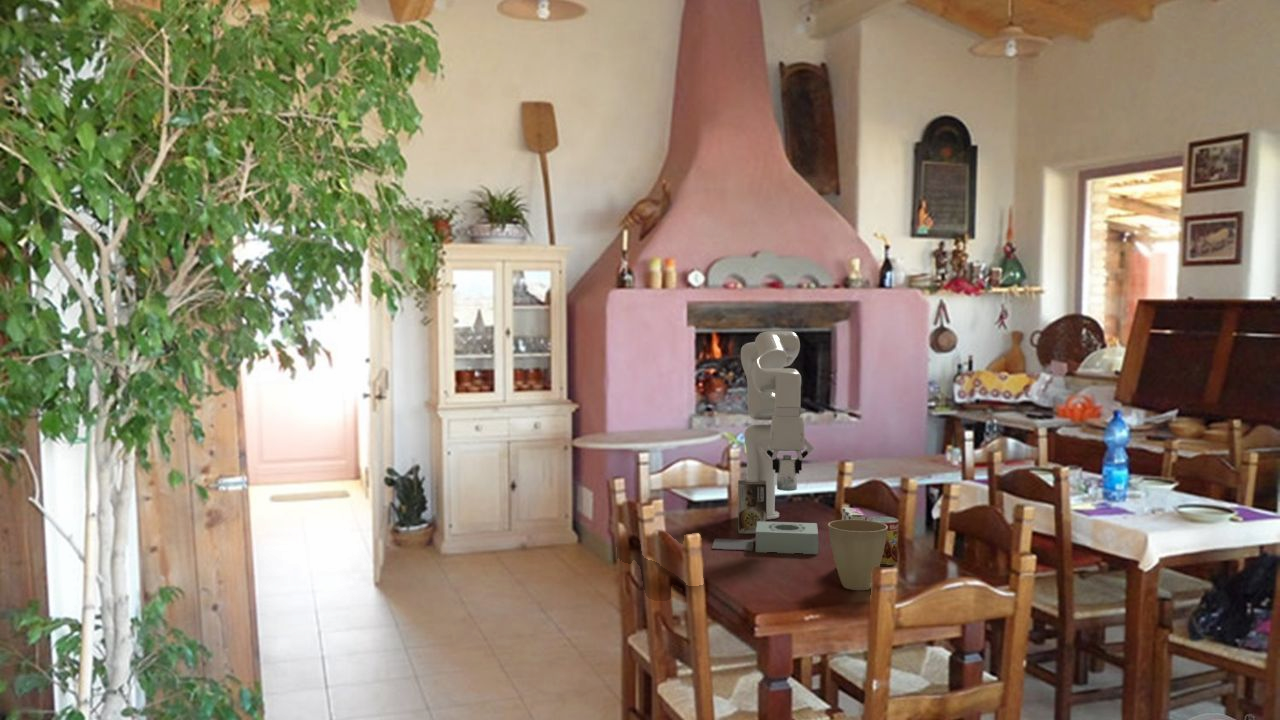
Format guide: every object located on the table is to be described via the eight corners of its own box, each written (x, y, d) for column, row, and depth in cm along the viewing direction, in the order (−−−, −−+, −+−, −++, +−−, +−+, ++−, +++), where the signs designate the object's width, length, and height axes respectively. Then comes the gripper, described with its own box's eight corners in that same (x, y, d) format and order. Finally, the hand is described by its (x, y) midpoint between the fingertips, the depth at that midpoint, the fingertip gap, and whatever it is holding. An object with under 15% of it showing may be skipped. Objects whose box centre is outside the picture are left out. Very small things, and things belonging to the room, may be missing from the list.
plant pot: (899, 588, 243) (900, 526, 242) (859, 598, 234) (860, 534, 233) (854, 575, 255) (855, 516, 254) (815, 584, 246) (815, 523, 246)
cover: (777, 486, 288) (777, 453, 287) (796, 487, 287) (797, 454, 286) (777, 490, 282) (777, 457, 281) (796, 491, 281) (797, 457, 280)
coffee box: (766, 529, 308) (766, 480, 307) (766, 534, 302) (767, 483, 301) (737, 528, 309) (738, 479, 308) (738, 533, 303) (738, 483, 302)
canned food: (898, 565, 264) (899, 522, 264) (869, 564, 266) (870, 521, 265) (896, 558, 272) (897, 516, 271) (868, 557, 273) (868, 515, 273)
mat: (714, 539, 294) (714, 538, 294) (753, 541, 292) (753, 540, 292) (711, 549, 282) (711, 548, 282) (752, 551, 281) (752, 549, 280)
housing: (757, 540, 293) (757, 521, 293) (816, 542, 290) (816, 523, 290) (755, 552, 279) (755, 531, 279) (818, 554, 277) (818, 533, 276)
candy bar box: (866, 576, 254) (867, 515, 253) (847, 576, 254) (848, 515, 253) (858, 565, 265) (859, 506, 264) (840, 565, 265) (840, 506, 264)
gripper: (816, 411, 285) (816, 471, 286) (758, 410, 288) (758, 469, 289) (817, 414, 278) (816, 475, 279) (757, 413, 280) (757, 474, 282)
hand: (787, 472), depth 284 cm, fingers closed on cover, 5 cm apart
